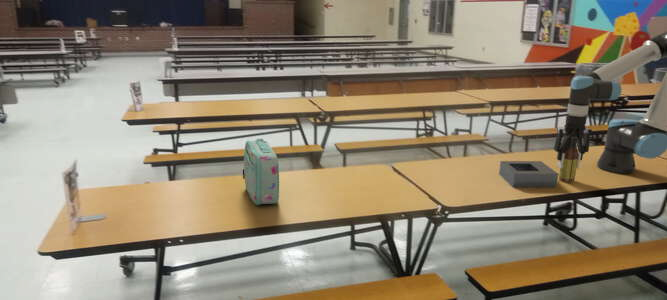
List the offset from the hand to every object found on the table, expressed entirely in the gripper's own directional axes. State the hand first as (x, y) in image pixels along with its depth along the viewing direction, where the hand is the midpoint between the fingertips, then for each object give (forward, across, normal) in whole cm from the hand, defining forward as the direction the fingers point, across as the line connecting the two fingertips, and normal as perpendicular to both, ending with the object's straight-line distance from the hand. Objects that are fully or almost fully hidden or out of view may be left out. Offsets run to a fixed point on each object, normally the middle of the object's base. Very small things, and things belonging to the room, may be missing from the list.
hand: (568, 167), depth 199 cm
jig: (+6, +17, 0) cm, 18 cm away
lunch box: (+6, +128, +17) cm, 129 cm away
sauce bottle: (+6, 0, 0) cm, 6 cm away
